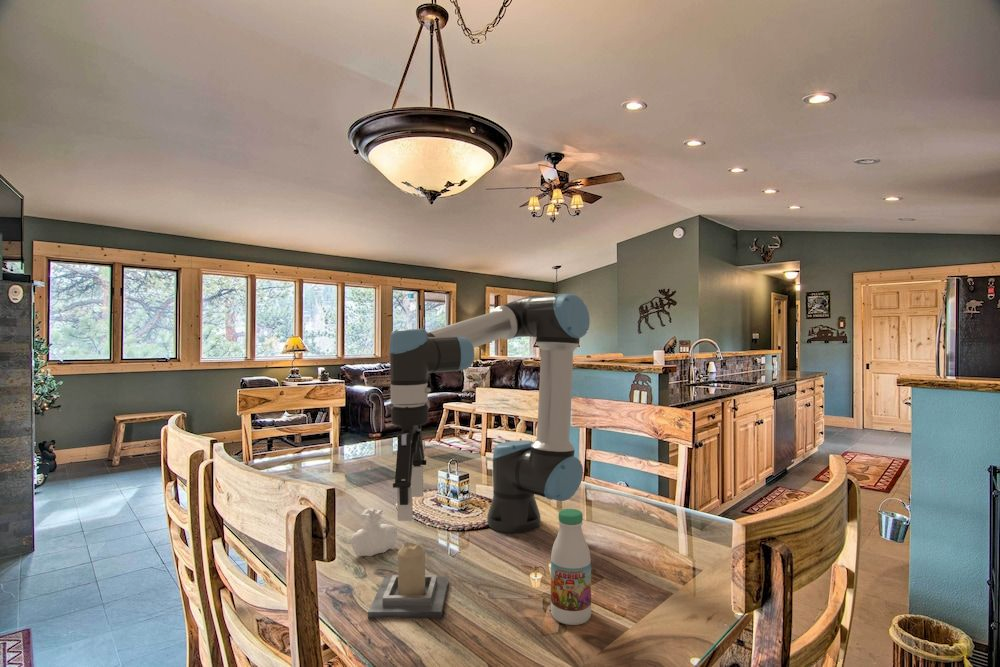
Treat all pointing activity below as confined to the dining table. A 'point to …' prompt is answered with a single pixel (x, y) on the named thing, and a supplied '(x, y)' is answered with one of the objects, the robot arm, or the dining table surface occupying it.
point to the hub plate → (409, 600)
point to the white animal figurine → (373, 535)
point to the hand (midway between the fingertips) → (411, 507)
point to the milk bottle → (570, 571)
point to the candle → (411, 570)
